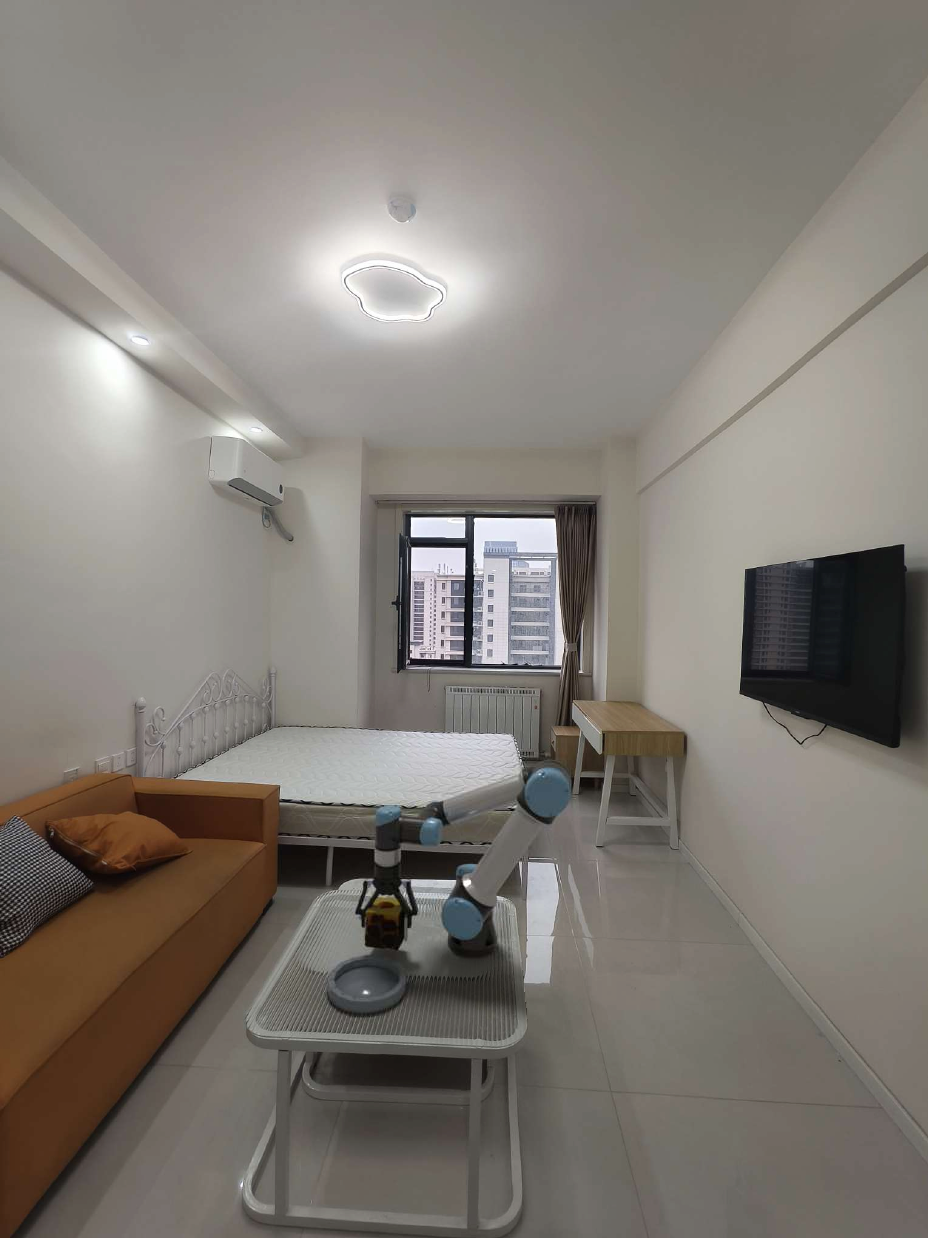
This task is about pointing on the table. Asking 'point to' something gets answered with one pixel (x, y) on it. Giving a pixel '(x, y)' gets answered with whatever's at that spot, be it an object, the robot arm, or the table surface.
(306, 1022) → the table surface
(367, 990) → the dish
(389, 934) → the candle
